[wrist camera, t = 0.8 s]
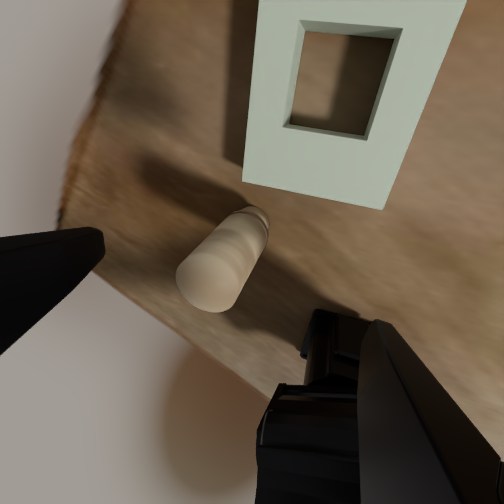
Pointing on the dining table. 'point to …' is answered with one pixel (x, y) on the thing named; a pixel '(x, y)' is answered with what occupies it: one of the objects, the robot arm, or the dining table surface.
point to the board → (385, 106)
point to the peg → (224, 260)
